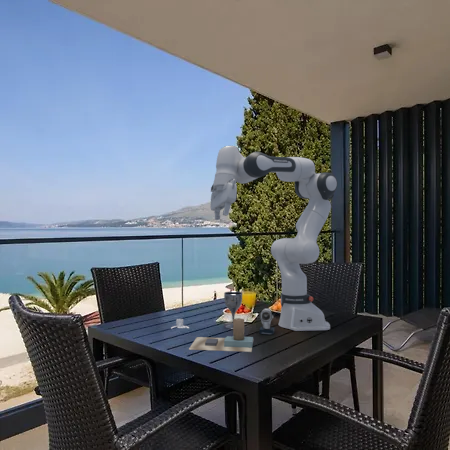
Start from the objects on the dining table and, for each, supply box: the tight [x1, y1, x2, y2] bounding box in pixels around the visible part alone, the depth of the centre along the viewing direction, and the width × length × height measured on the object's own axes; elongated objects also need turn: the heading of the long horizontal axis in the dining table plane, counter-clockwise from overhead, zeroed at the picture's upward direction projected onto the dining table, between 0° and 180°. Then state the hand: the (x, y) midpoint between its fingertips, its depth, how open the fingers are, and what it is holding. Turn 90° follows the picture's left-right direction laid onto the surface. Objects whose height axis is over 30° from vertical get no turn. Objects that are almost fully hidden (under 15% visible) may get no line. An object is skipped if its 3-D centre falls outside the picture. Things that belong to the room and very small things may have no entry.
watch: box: [259, 308, 275, 335], centre depth 154 cm, size 6×8×11 cm
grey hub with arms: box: [170, 318, 190, 330], centre depth 167 cm, size 9×8×4 cm
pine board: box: [188, 336, 254, 353], centre depth 139 cm, size 22×15×2 cm
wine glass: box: [223, 290, 243, 330], centre depth 169 cm, size 8×8×15 cm
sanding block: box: [224, 317, 254, 349], centre depth 138 cm, size 10×6×9 cm, turn 83°
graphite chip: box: [205, 339, 218, 346], centre depth 140 cm, size 4×5×1 cm
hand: (221, 217), depth 150 cm, fingers open, 8 cm apart
